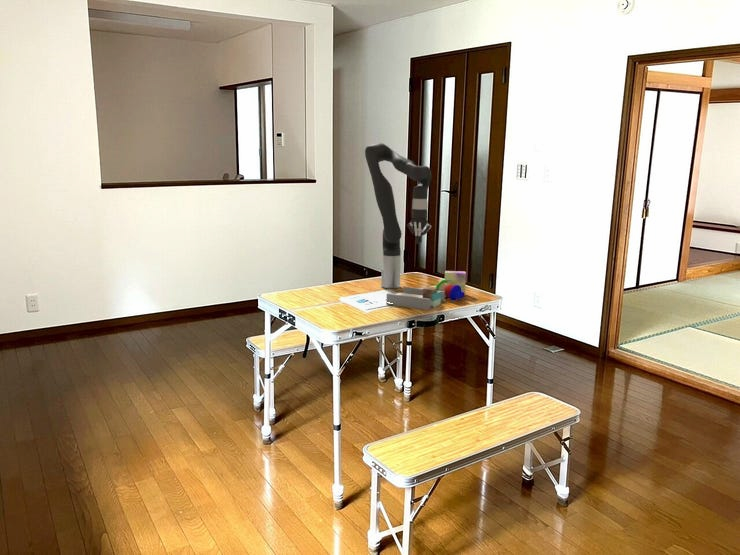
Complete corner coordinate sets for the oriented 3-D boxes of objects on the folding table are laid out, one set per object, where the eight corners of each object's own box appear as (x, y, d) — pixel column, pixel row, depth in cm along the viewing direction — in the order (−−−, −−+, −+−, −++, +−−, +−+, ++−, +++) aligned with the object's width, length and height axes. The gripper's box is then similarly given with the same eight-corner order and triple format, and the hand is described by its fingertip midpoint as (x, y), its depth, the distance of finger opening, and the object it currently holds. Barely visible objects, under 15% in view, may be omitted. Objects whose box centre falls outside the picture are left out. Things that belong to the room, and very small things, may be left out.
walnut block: (422, 299, 292) (422, 288, 291) (426, 296, 296) (427, 286, 295) (432, 300, 290) (432, 289, 289) (436, 298, 294) (436, 287, 293)
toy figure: (464, 305, 303) (441, 294, 313) (468, 287, 301) (445, 277, 311) (452, 306, 297) (429, 295, 307) (457, 288, 294) (433, 277, 304)
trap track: (386, 304, 295) (386, 291, 293) (403, 296, 310) (404, 284, 309) (429, 310, 284) (429, 297, 283) (444, 301, 300) (445, 289, 298)
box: (464, 293, 317) (465, 270, 314) (465, 296, 311) (466, 273, 309) (444, 293, 318) (444, 270, 315) (444, 295, 312) (445, 272, 310)
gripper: (404, 207, 300) (403, 243, 304) (429, 209, 294) (427, 245, 297) (410, 206, 307) (409, 241, 310) (435, 208, 300) (434, 243, 304)
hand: (418, 243), depth 304 cm, fingers closed
